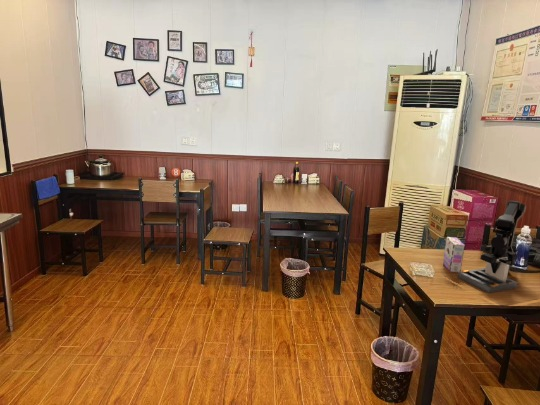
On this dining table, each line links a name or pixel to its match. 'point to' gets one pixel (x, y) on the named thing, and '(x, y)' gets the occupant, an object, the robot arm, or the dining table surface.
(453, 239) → the candy box
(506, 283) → the rack
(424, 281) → the dining table surface
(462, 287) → the dining table surface
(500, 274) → the panel
